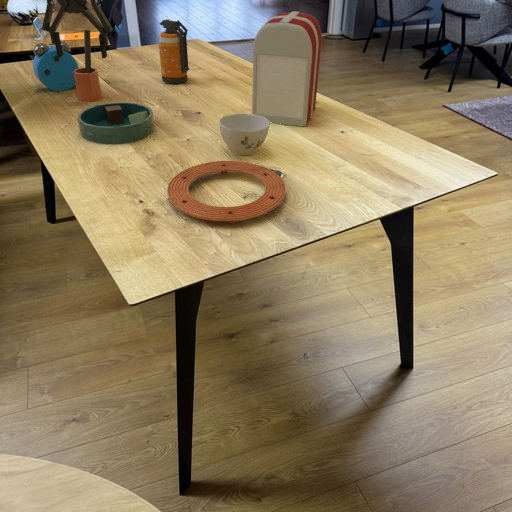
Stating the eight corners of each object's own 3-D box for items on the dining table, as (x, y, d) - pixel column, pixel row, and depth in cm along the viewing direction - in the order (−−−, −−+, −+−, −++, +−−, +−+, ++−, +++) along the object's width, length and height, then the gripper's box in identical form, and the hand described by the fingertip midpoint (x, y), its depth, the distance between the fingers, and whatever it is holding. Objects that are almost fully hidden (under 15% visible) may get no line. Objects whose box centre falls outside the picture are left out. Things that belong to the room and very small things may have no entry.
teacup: (274, 159, 119) (275, 128, 114) (224, 163, 116) (223, 132, 112) (260, 136, 131) (260, 107, 126) (214, 139, 128) (213, 110, 123)
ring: (267, 237, 91) (267, 226, 89) (147, 215, 96) (145, 204, 95) (297, 179, 110) (298, 169, 109) (195, 163, 116) (195, 154, 115)
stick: (85, 98, 150) (83, 29, 146) (87, 98, 152) (85, 31, 148) (91, 98, 150) (89, 30, 146) (92, 99, 152) (90, 31, 148)
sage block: (127, 115, 127) (141, 112, 126) (133, 114, 131) (146, 110, 130) (132, 130, 128) (146, 127, 128) (137, 128, 132) (151, 125, 131)
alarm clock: (77, 84, 165) (68, 37, 157) (83, 89, 161) (74, 41, 152) (38, 90, 159) (26, 42, 150) (43, 95, 155) (31, 46, 146)
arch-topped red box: (316, 107, 150) (325, 12, 134) (306, 127, 136) (315, 24, 121) (265, 102, 154) (268, 9, 138) (250, 121, 140) (251, 19, 124)
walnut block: (109, 125, 134) (107, 111, 131) (106, 120, 137) (104, 106, 134) (124, 123, 135) (122, 109, 133) (120, 118, 138) (118, 104, 136)
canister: (174, 76, 176) (169, 16, 164) (197, 81, 170) (194, 20, 159) (157, 81, 170) (150, 19, 158) (180, 87, 165) (175, 24, 153)
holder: (75, 103, 150) (69, 73, 145) (83, 95, 156) (77, 67, 150) (98, 103, 150) (93, 74, 144) (105, 96, 156) (100, 67, 150)
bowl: (70, 145, 124) (66, 126, 121) (94, 118, 140) (91, 101, 137) (145, 147, 123) (143, 128, 120) (160, 120, 139) (159, 103, 136)
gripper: (116, -25, 135) (126, 54, 148) (29, -27, 136) (47, 52, 148) (108, -22, 129) (120, 61, 142) (17, -24, 130) (37, 58, 142)
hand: (82, 56), depth 145 cm, fingers open, 13 cm apart
